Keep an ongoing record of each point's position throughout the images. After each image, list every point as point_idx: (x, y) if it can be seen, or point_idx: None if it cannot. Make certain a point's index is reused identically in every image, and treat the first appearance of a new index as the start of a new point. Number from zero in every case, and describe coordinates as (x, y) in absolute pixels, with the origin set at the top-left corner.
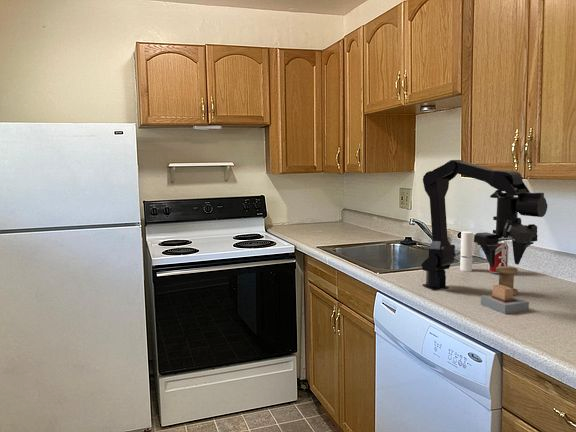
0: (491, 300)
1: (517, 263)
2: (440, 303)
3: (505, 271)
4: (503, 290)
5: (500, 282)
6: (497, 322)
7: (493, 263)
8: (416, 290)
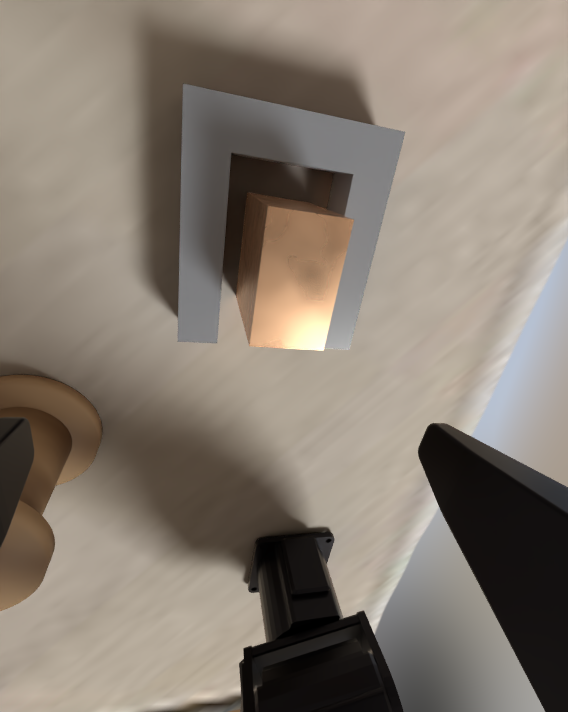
0: (369, 265)
1: (21, 429)
2: (453, 406)
3: (17, 519)
4: (347, 233)
5: (56, 477)
6: (544, 46)
7: (476, 445)
8: (377, 544)
